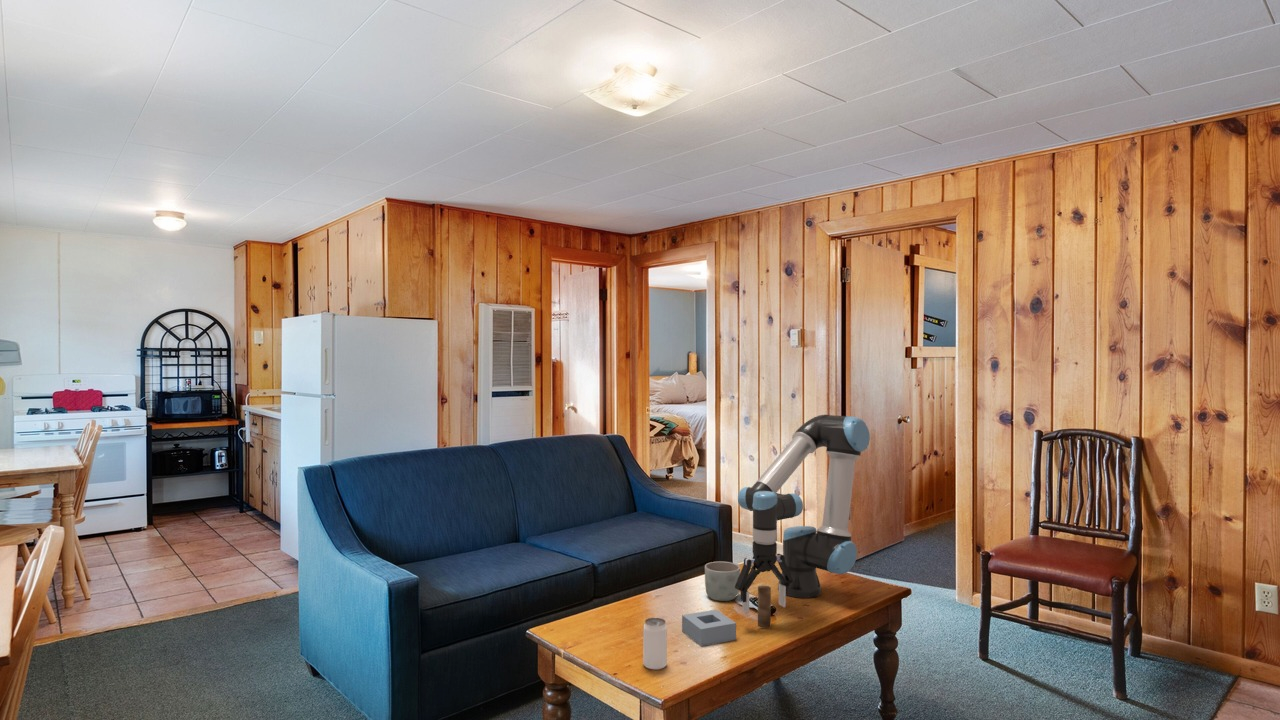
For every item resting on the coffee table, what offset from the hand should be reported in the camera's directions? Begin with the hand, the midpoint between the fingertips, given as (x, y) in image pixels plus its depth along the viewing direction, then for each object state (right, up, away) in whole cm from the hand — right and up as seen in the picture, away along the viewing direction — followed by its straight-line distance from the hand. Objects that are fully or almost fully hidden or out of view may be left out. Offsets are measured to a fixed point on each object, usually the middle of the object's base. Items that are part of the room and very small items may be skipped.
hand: (764, 608), depth 216 cm
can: (-35, -5, -28) cm, 45 cm away
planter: (-10, -5, +25) cm, 28 cm away
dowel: (0, -5, 0) cm, 5 cm away
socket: (-18, -5, -8) cm, 21 cm away
